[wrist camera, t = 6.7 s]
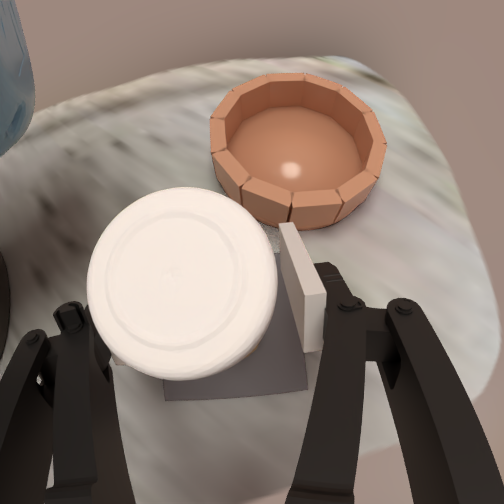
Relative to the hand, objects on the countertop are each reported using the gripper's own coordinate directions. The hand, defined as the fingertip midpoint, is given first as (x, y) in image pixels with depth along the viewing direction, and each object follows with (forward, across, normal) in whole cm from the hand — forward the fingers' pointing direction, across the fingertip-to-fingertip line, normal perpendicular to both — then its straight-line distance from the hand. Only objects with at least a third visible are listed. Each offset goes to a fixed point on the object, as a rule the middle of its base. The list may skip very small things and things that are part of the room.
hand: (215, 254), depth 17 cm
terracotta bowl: (+9, +6, +3) cm, 11 cm away
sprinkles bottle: (0, 0, -5) cm, 5 cm away
